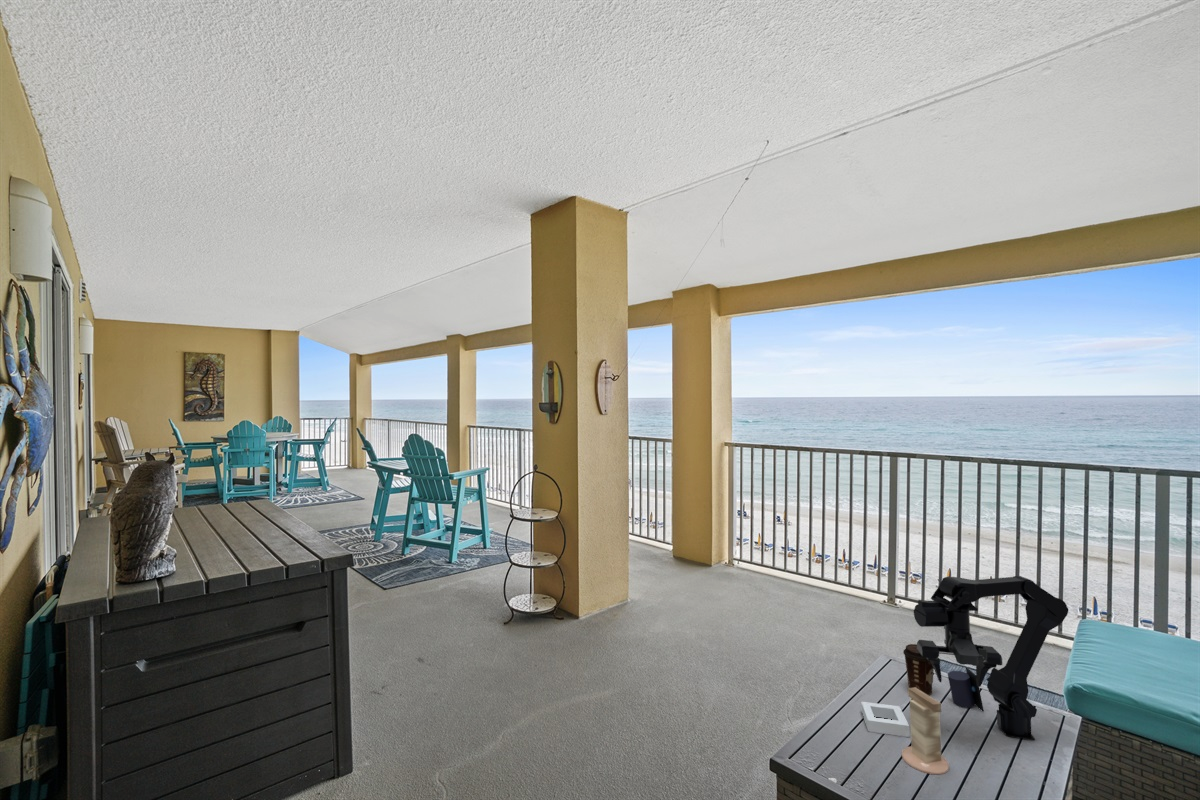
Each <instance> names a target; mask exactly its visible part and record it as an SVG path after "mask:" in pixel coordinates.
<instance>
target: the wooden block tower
mask: <svg viewBox="0 0 1200 800" xmlns="http://www.w3.org/2000/svg"><path fill="white" fill-rule="evenodd" d="M907 695H908V698H911V699H910V700H909V711H910V712H909V713H910V719H909V720H910V739H911V740H910V743H911V746H912V753H913V754H915V755H916V756H917V757H918V758H920V759H921V760H922V761H924V762H925V763H931V762H937V761H941V755H942V746H941V745H942V743H941V742H942V741H941V737H942V736H941V719H940V718H941V717H940V716H941V715H940V714H941V712H942V703H941V702H940V701H938V700H936V699H935V698H933V697H931V696H930V695H927V694H925V693H924V692H922V691H920V690H919V689H917V688H916V687H914V688H909V687H908V688H907Z"/></svg>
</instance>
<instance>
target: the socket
mask: <svg viewBox="0 0 1200 800" xmlns="http://www.w3.org/2000/svg"><path fill="white" fill-rule="evenodd" d="M860 703H861V705H860V706H861V708H860V709H861V714H862V713H863V715H862V717H863V716H864V717H863V720H864V723H865V725H866V729H867V731H868V732H869V733H870V732H871V733H876V734H883V735H892V736H899V737H906V738H910V725H909V723H908V721H907V719H906V717H905V715H904V713H903V710H902V709H901V706H900V705H891V704H883V703H876V702H868V701H860ZM874 716H875V717H874ZM876 717H882V718H876ZM884 718H888V719H884ZM891 719H892V720H891Z"/></svg>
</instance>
